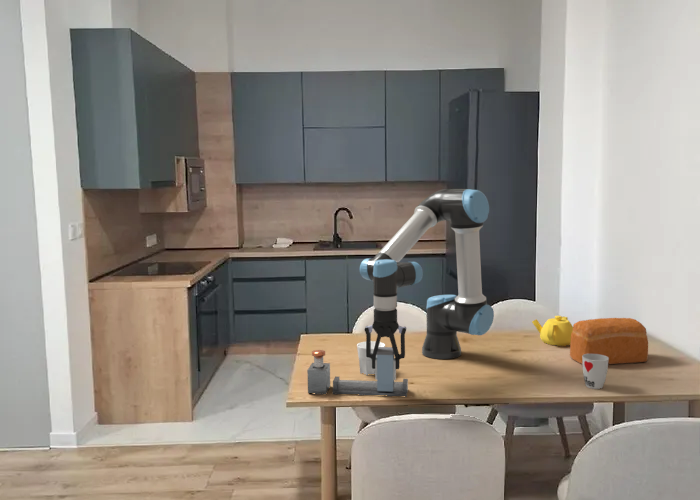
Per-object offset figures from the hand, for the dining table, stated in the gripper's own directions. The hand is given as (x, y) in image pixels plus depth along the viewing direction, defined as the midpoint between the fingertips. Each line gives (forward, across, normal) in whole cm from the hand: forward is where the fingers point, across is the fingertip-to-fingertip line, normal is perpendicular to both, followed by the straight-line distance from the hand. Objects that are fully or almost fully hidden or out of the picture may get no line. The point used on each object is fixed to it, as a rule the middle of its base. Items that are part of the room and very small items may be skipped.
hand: (385, 378), depth 210 cm
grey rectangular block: (+3, 0, 0) cm, 3 cm away
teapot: (+5, -64, -69) cm, 94 cm away
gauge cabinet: (+5, +22, 0) cm, 23 cm away
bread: (+5, -80, -44) cm, 92 cm away
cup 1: (+5, +7, -21) cm, 23 cm away
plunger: (+1, +22, 0) cm, 22 cm away
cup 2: (+5, -68, -13) cm, 69 cm away
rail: (+5, +5, 0) cm, 7 cm away
